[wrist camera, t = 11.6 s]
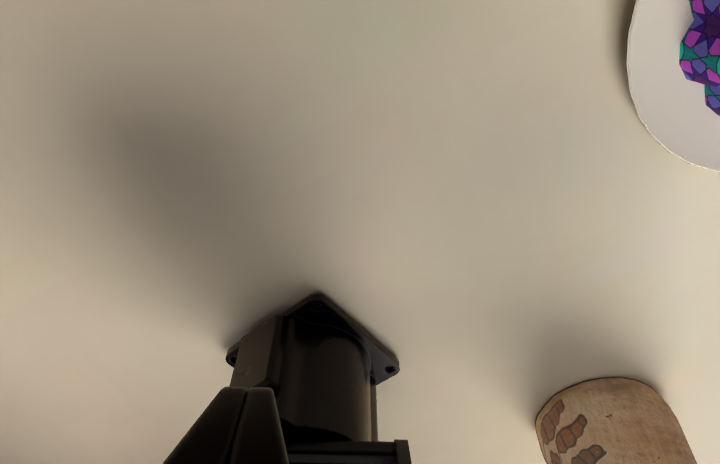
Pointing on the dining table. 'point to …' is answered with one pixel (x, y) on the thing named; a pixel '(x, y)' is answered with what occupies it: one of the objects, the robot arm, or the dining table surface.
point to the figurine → (611, 426)
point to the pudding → (678, 76)
